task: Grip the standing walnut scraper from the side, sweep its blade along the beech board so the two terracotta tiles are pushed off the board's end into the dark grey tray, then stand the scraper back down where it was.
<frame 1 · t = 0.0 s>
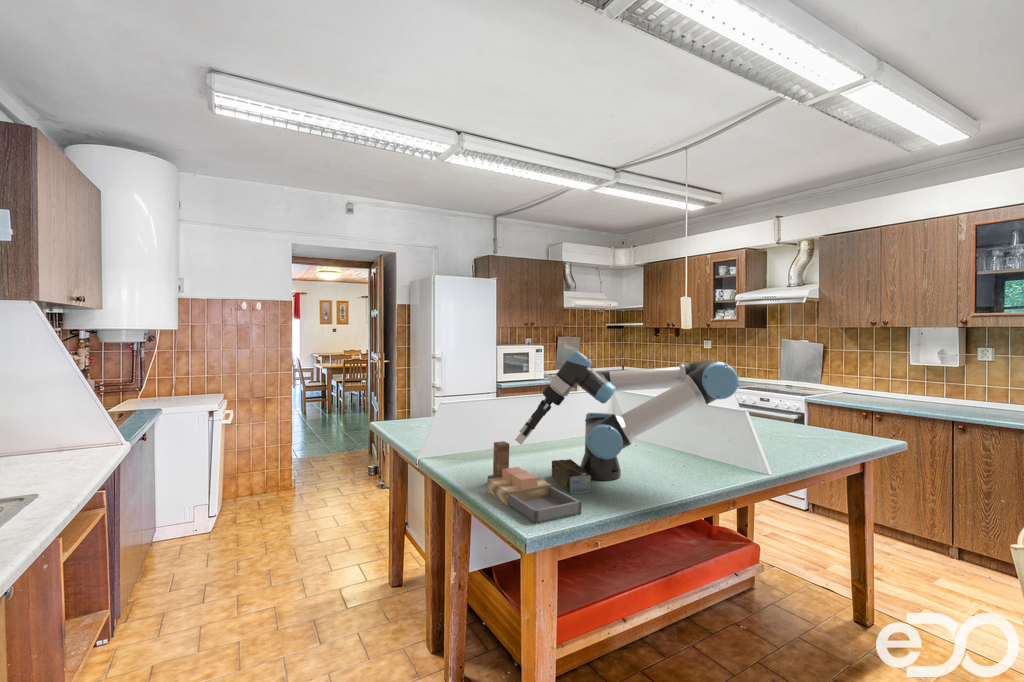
hand: (520, 437, 167), 15 cm above the table, tool tilted 35°, fingers open, 13 cm apart
board: (518, 494, 154), on the table
tile rear: (514, 479, 157), point 4 cm above the table, touching board
tile front: (524, 485, 151), point 4 cm above the table, touching board
beverage carton: (570, 485, 166), on the table
tray: (544, 509, 141), on the table
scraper: (500, 483, 165), on the table
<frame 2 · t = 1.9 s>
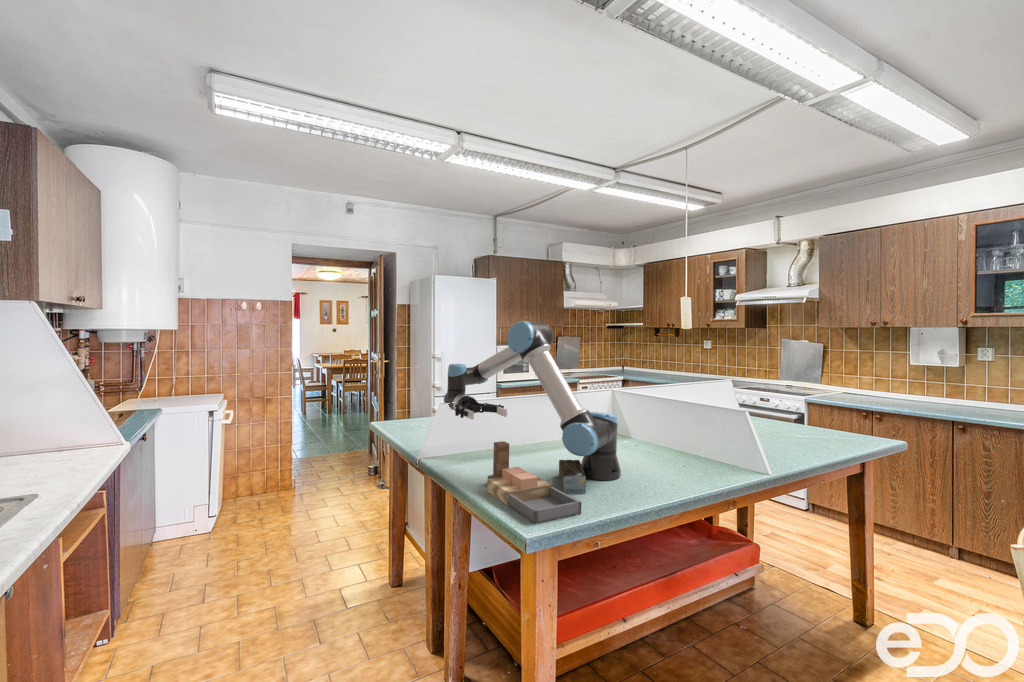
hand: (489, 414, 173), 22 cm above the table, tool horizontal, fingers open, 13 cm apart
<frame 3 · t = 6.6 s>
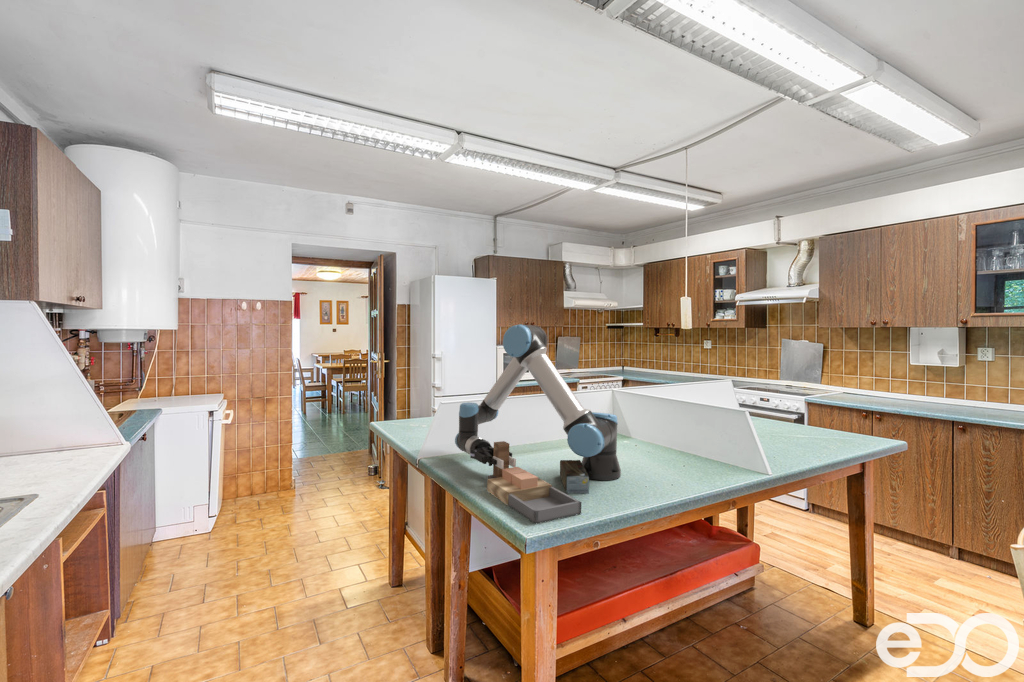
hand: (508, 464, 160), 8 cm above the table, tool horizontal, fingers closed on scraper, 4 cm apart
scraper: (500, 482, 165), on the table, touching gripper
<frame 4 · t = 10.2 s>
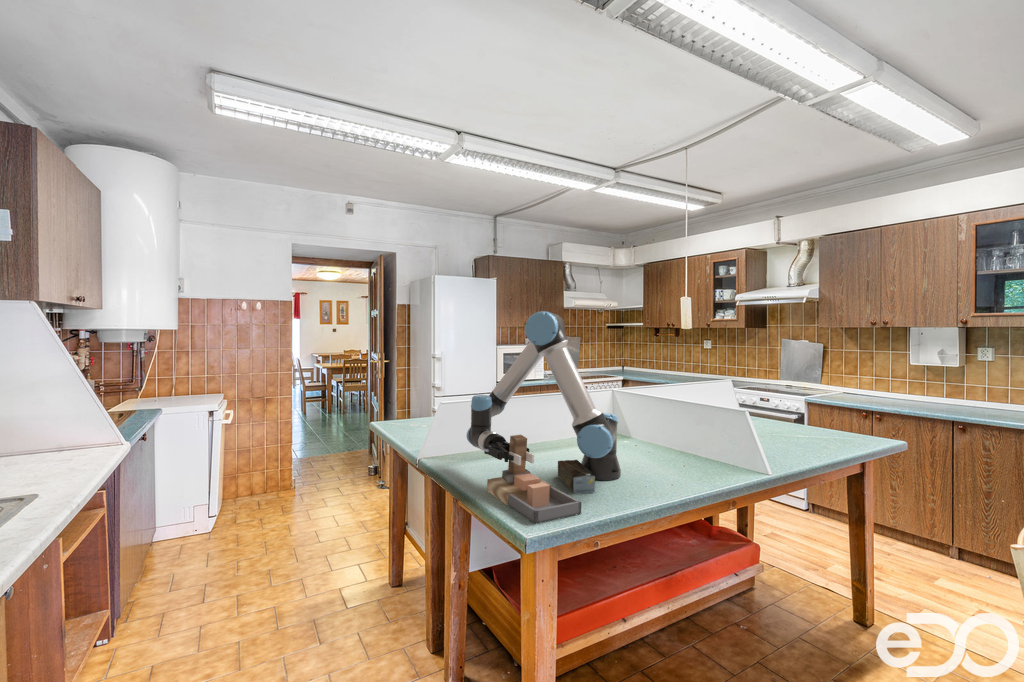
hand: (526, 460, 148), 13 cm above the table, tool horizontal, fingers closed on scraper, 4 cm apart
tile rear: (526, 486, 150), point 4 cm above the table, touching board, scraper
tile front: (535, 493, 145), point 3 cm above the table, tilted 91°, touching tray
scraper: (516, 478, 154), point 5 cm above the table, tilted 5°, touching gripper, tile rear
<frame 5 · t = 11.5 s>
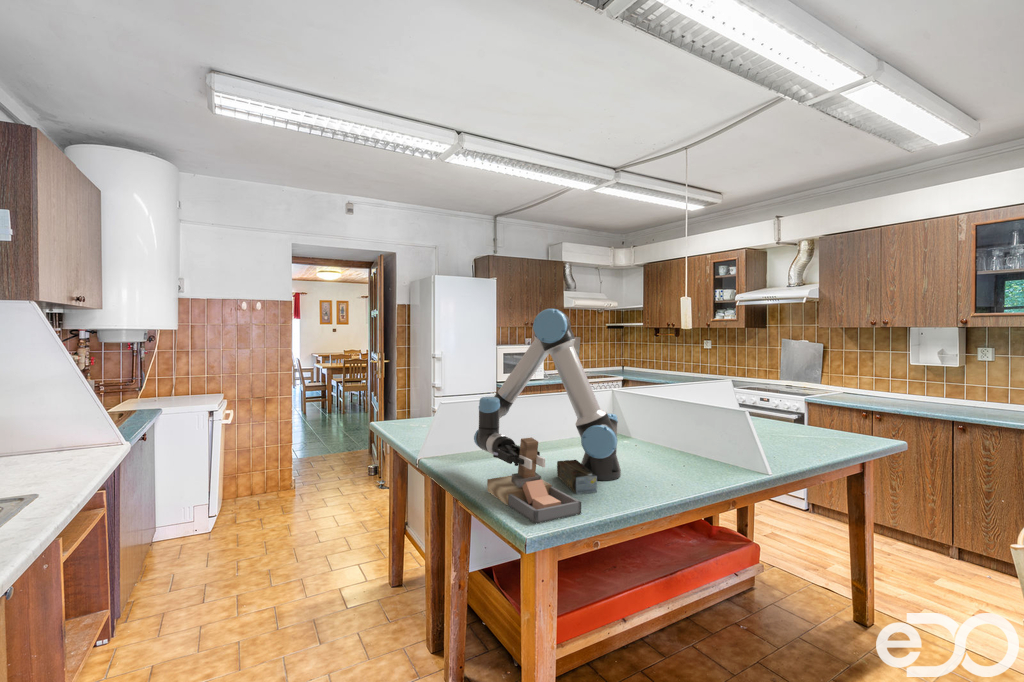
hand: (537, 463, 144), 13 cm above the table, tool horizontal, fingers closed on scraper, 4 cm apart
tile rear: (533, 494, 147), point 3 cm above the table, tilted 46°, touching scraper
tile front: (546, 499, 140), point 3 cm above the table, tilted 180°, touching tray
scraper: (525, 482, 150), point 5 cm above the table, tilted 7°, touching gripper, tile rear
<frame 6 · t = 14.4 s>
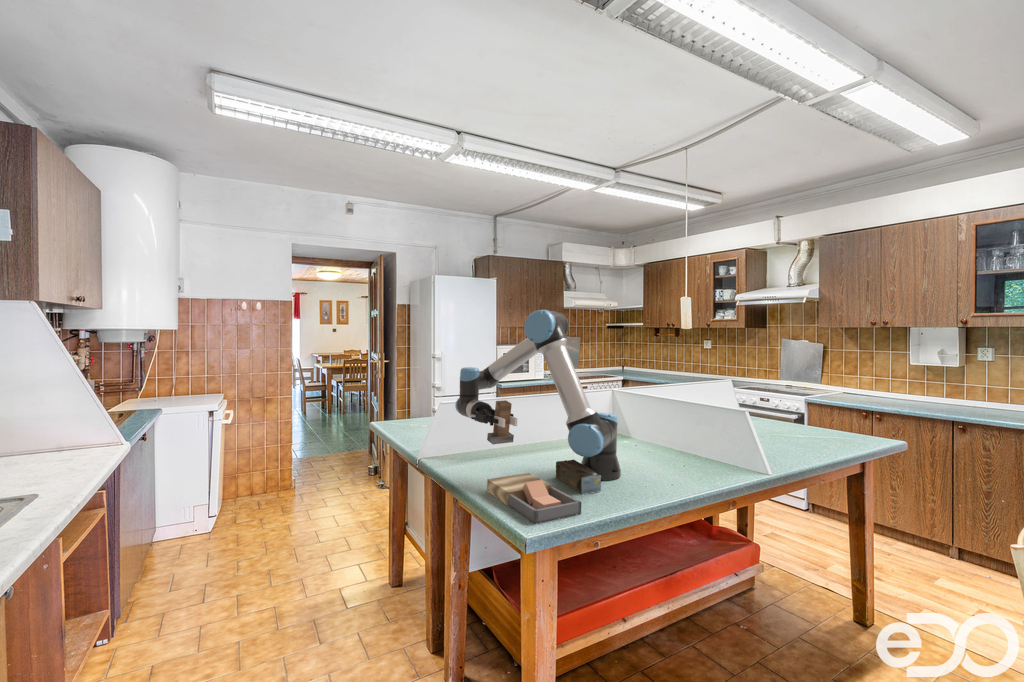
hand: (510, 422, 159), 22 cm above the table, tool horizontal, fingers closed on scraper, 4 cm apart
tile rear: (534, 494, 147), point 2 cm above the table, tilted 41°, touching board, tray
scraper: (500, 441, 165), point 14 cm above the table, tilted 8°, touching gripper
when the fingers open (9 cm above the table, at t = 17.0 s): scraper drops 2 cm, on the table.
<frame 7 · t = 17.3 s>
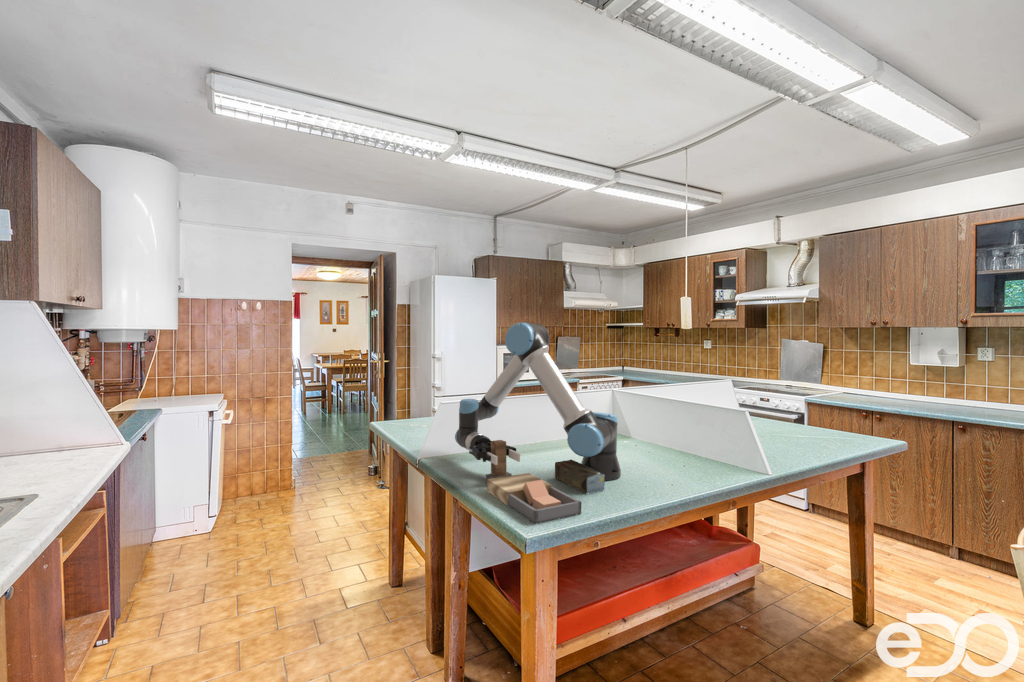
hand: (507, 459, 161), 9 cm above the table, tool horizontal, fingers open, 8 cm apart
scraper: (498, 481, 166), on the table
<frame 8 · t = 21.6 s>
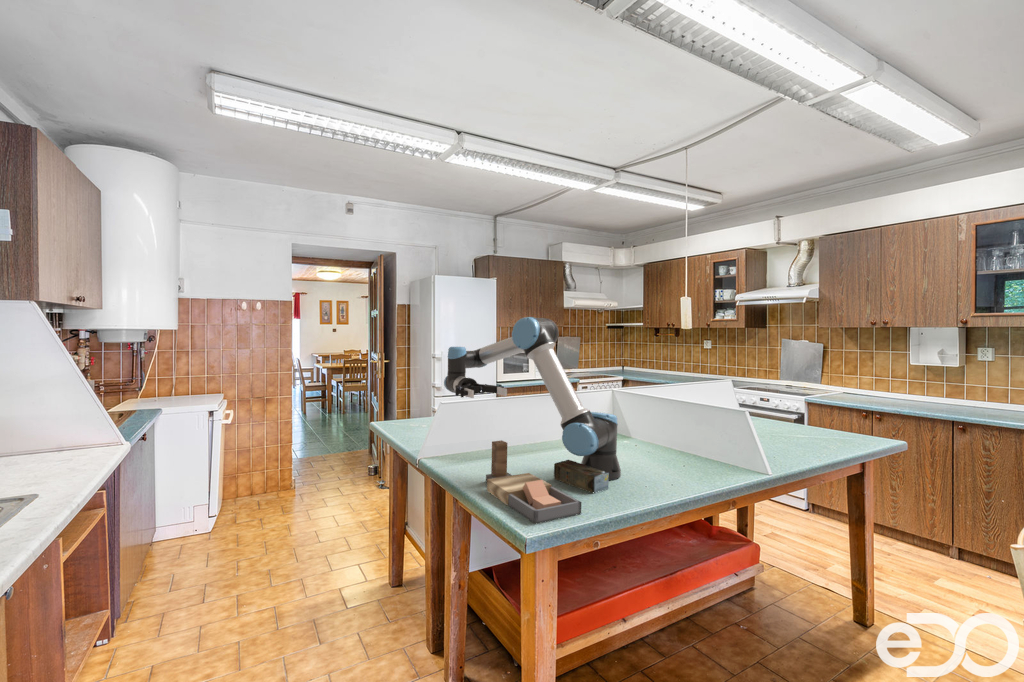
hand: (489, 393, 173), 30 cm above the table, tool horizontal, fingers open, 13 cm apart
at the end: tile front inside the target area on the tray (1.5 cm from its centre), point 3.5 cm above the tray's base; tile rear inside the target area on the tray (6.0 cm from its centre), point 2.5 cm above the tray's base; the gripper is holding nothing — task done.
